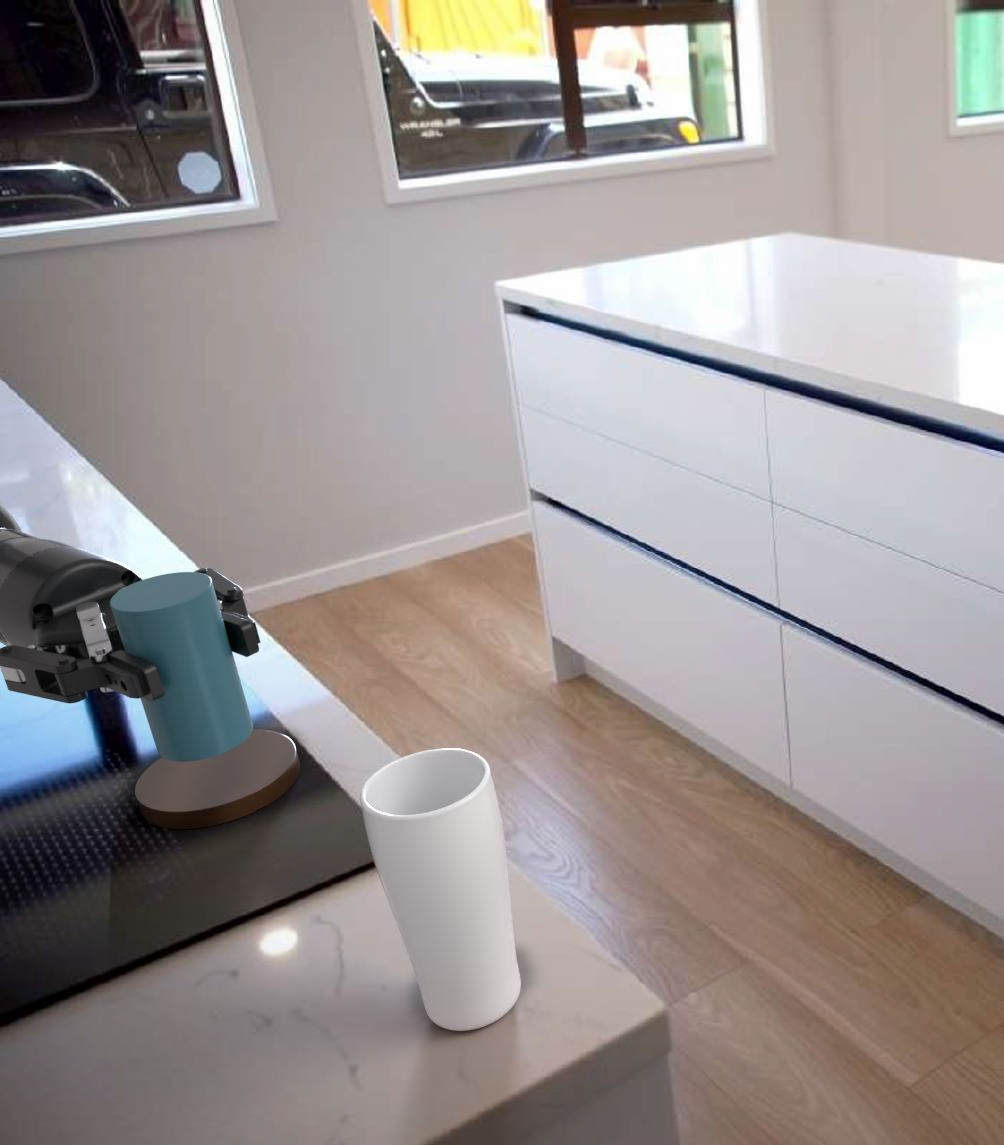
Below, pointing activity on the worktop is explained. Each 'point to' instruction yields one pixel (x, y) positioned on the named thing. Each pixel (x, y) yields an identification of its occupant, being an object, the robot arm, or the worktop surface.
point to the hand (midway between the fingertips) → (204, 660)
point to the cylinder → (185, 664)
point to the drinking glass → (446, 881)
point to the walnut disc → (218, 783)
